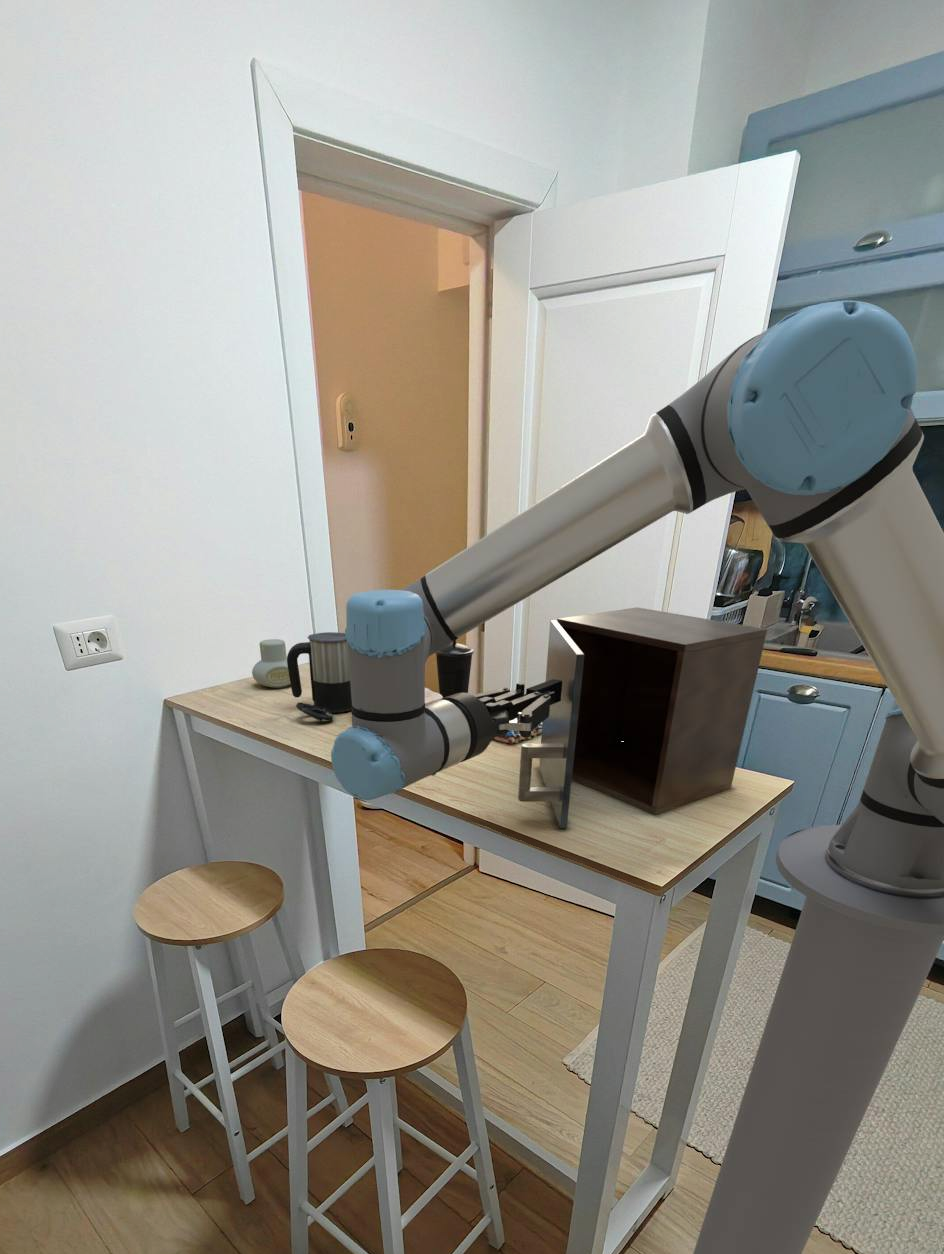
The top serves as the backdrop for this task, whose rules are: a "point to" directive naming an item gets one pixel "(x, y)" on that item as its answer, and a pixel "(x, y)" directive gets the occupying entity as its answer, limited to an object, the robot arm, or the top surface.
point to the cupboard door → (556, 729)
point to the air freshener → (272, 664)
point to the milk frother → (323, 674)
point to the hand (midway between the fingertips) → (556, 690)
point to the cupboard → (661, 704)
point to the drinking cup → (454, 668)
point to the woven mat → (518, 735)
